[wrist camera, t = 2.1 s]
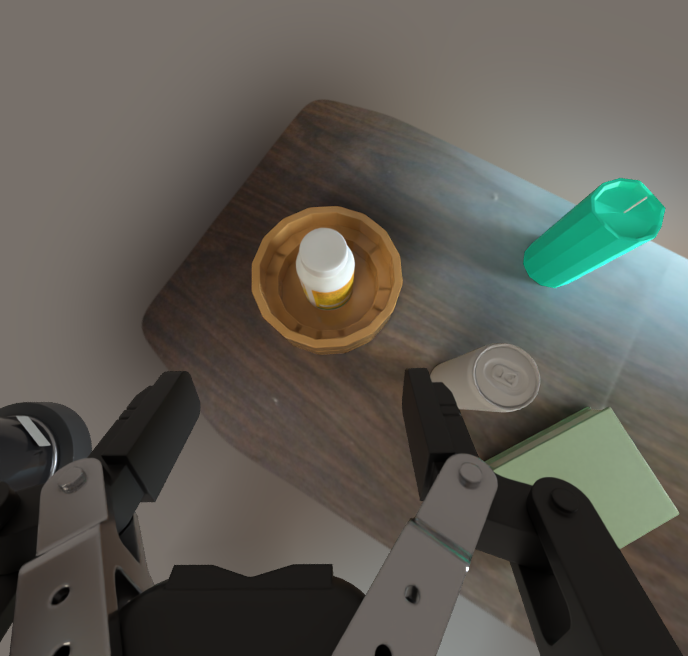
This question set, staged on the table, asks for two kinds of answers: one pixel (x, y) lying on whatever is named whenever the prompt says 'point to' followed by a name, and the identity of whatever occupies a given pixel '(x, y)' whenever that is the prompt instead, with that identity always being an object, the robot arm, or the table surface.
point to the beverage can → (491, 378)
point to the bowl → (288, 295)
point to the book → (594, 471)
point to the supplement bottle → (325, 269)
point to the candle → (595, 232)
